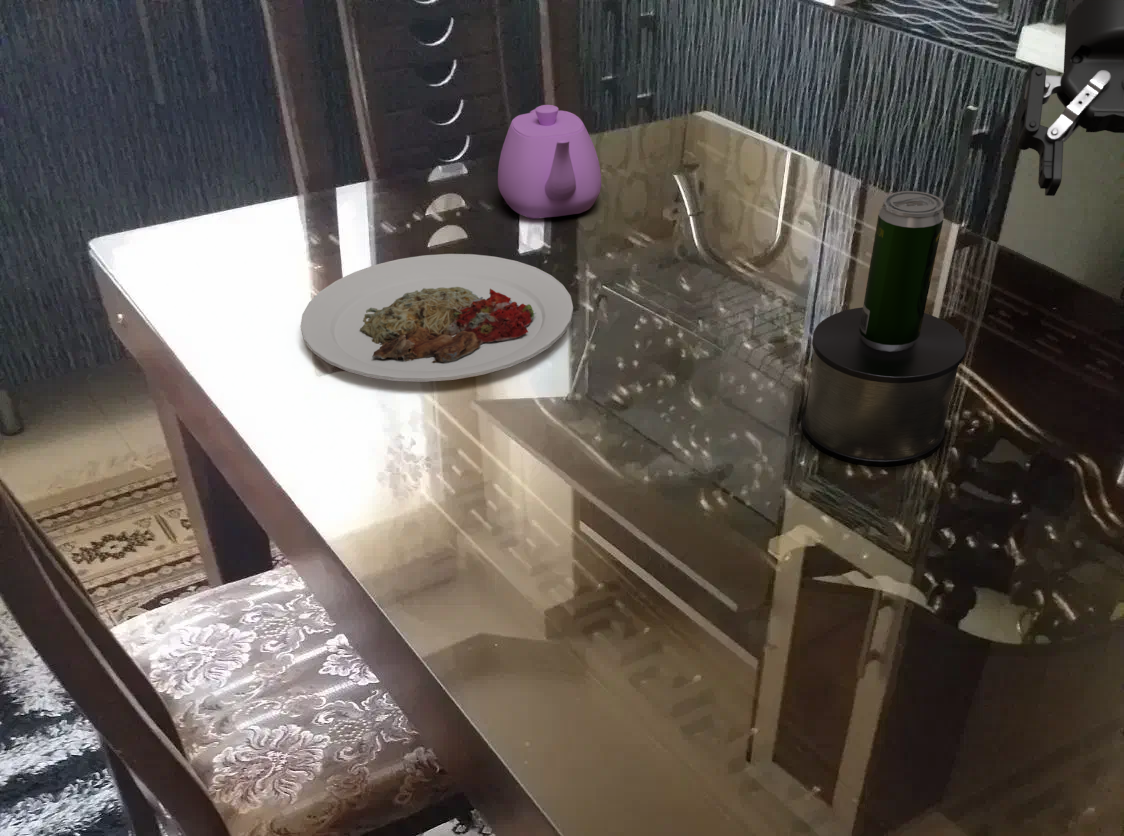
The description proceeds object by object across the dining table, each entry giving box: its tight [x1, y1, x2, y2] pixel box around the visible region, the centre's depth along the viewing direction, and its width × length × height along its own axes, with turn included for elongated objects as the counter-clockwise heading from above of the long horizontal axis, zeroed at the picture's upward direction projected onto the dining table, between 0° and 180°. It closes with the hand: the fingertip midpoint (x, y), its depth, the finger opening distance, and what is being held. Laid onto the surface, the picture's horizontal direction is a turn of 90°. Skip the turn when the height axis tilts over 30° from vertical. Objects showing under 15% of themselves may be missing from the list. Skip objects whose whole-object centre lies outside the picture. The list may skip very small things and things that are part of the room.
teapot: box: [497, 104, 602, 220], centre depth 146 cm, size 20×13×12 cm, turn 13°
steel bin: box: [801, 306, 967, 467], centre depth 107 cm, size 14×14×9 cm
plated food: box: [300, 253, 574, 383], centre depth 127 cm, size 30×30×3 cm
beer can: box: [859, 190, 945, 352], centre depth 100 cm, size 5×5×12 cm
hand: (1106, 191), depth 96 cm, fingers open, 8 cm apart
